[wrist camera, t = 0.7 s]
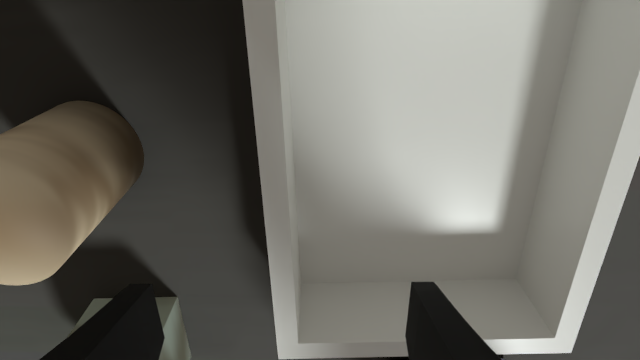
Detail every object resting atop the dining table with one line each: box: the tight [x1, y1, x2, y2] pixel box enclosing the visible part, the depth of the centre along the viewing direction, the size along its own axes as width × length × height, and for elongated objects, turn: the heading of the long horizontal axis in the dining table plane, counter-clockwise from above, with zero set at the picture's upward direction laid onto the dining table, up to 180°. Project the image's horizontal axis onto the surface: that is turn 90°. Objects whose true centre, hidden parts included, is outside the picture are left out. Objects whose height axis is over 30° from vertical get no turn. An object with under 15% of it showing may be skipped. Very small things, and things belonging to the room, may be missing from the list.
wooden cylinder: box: [0, 101, 144, 285], centre depth 17 cm, size 5×5×7 cm
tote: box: [242, 0, 640, 359], centre depth 18 cm, size 18×14×5 cm
